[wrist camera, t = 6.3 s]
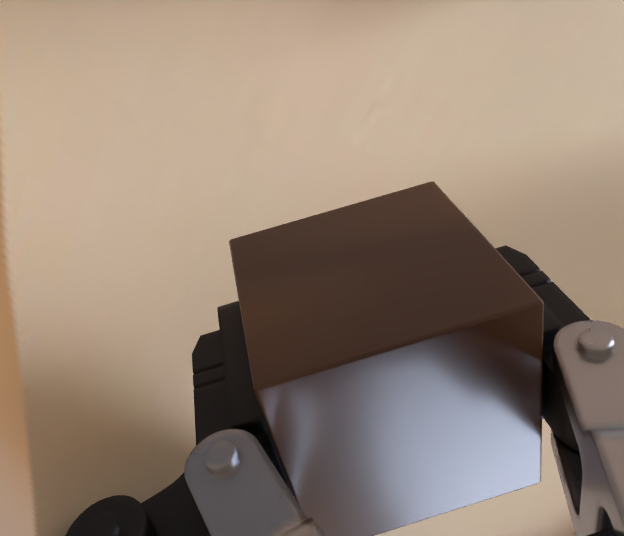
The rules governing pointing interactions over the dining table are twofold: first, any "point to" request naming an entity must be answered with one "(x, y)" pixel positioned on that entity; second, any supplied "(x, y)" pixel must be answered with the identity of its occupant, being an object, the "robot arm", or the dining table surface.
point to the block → (392, 360)
